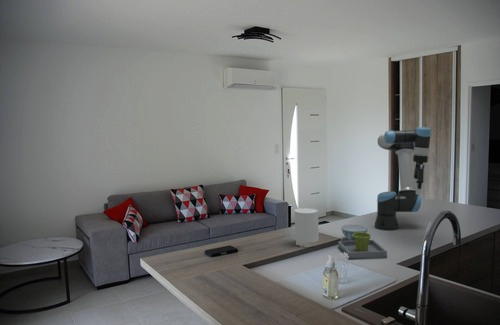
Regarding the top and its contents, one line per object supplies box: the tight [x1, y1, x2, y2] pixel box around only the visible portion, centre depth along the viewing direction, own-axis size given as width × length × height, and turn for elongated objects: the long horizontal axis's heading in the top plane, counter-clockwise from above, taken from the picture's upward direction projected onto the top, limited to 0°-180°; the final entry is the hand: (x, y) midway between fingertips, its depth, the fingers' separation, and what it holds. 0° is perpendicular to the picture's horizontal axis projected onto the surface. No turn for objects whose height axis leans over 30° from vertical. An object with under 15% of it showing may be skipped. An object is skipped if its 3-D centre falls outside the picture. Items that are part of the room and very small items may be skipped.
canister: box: [294, 207, 319, 243], centre depth 225 cm, size 14×14×20 cm
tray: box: [337, 239, 388, 260], centre depth 208 cm, size 20×20×4 cm
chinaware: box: [341, 224, 369, 241], centre depth 229 cm, size 15×15×8 cm
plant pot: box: [353, 232, 372, 252], centre depth 208 cm, size 9×9×9 cm
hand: (416, 192), depth 219 cm, fingers open, 13 cm apart
